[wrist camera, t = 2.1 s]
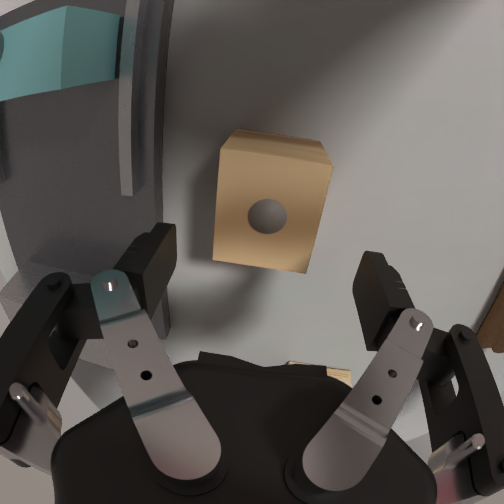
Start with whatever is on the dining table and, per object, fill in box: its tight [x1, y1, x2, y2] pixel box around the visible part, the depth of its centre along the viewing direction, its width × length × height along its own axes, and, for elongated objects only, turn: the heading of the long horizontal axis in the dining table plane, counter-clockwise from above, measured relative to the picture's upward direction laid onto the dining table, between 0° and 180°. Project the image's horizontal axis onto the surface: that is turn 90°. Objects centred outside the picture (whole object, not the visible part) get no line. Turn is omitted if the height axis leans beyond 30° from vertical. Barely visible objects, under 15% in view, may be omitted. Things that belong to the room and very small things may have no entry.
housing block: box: [213, 129, 333, 274], centre depth 16 cm, size 6×5×5 cm
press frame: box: [0, 0, 174, 370], centre depth 16 cm, size 28×16×6 cm, turn 173°
